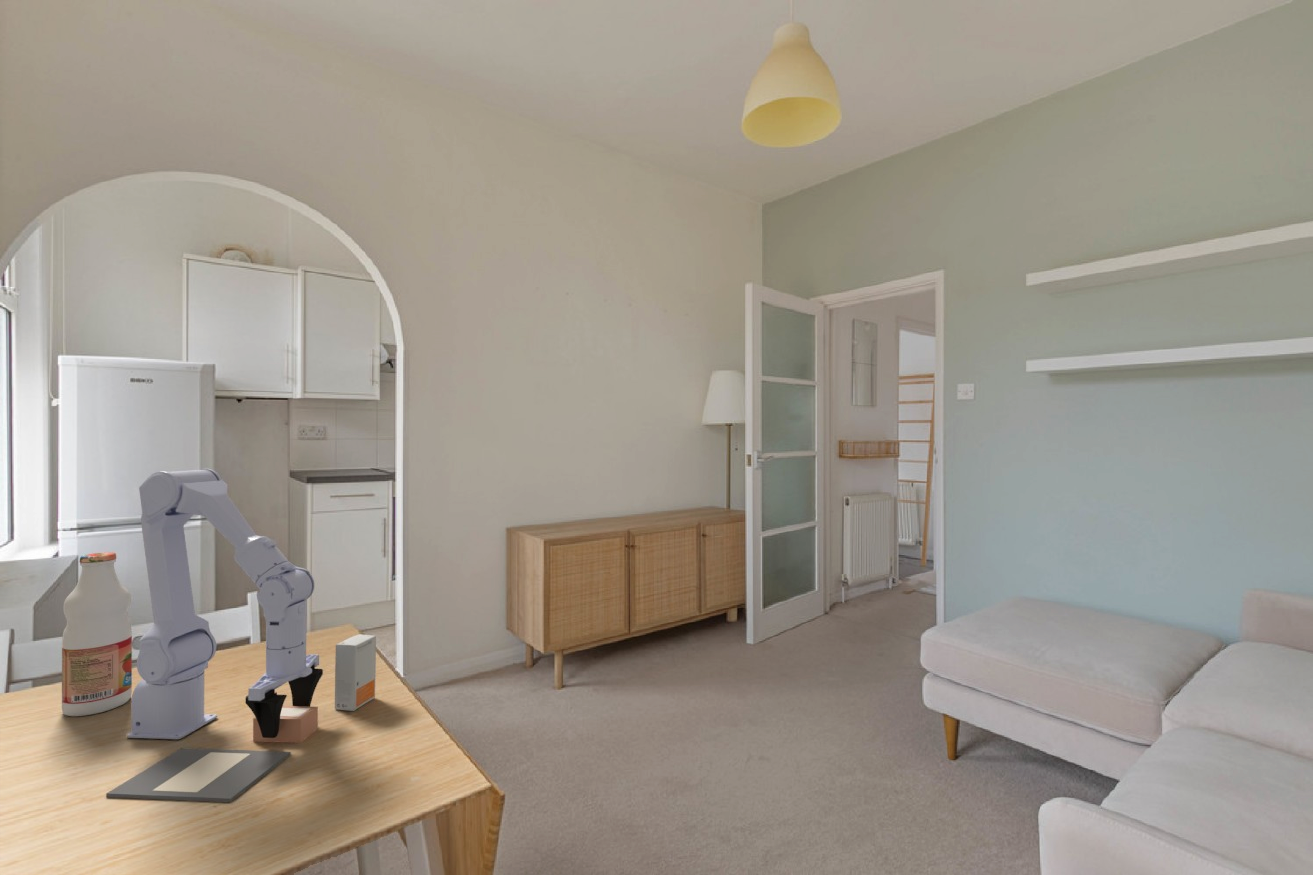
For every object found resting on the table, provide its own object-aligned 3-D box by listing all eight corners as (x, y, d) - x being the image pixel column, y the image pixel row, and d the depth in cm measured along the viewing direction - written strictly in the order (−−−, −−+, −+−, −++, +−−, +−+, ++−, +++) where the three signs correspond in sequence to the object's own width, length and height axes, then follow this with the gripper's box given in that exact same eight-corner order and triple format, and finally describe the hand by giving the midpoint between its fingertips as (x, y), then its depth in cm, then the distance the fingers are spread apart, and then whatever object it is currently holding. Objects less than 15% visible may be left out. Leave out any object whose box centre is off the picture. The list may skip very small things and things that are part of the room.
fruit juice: (50, 711, 107) (51, 557, 107) (115, 691, 115) (115, 548, 115) (78, 721, 103) (78, 561, 103) (142, 699, 112) (143, 551, 112)
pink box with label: (253, 742, 97) (253, 717, 97) (272, 728, 101) (272, 705, 101) (300, 743, 96) (300, 718, 96) (317, 729, 101) (317, 706, 101)
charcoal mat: (106, 796, 81) (106, 792, 81) (181, 751, 93) (181, 747, 93) (230, 802, 80) (230, 798, 80) (290, 754, 92) (290, 751, 92)
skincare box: (354, 712, 107) (354, 645, 107) (334, 709, 108) (334, 644, 108) (376, 697, 113) (376, 634, 113) (357, 695, 114) (357, 633, 114)
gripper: (279, 660, 91) (278, 748, 91) (335, 630, 106) (335, 706, 106) (235, 659, 92) (235, 747, 92) (297, 629, 106) (297, 704, 106)
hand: (286, 725), depth 99 cm, fingers open, 7 cm apart
